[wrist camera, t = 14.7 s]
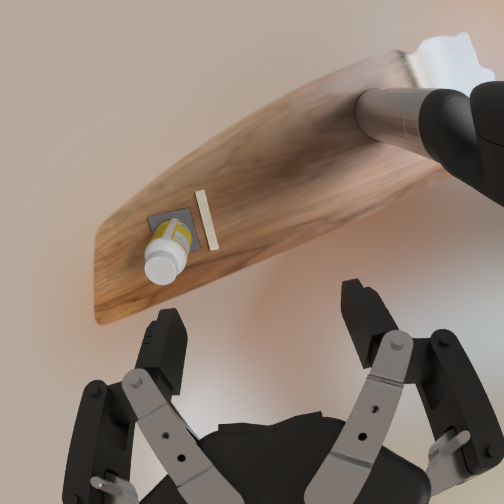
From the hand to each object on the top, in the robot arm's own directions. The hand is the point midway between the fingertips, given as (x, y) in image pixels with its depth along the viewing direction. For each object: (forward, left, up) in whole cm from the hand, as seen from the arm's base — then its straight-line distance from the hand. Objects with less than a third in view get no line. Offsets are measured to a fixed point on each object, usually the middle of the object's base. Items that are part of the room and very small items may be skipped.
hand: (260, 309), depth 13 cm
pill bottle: (+14, +9, -33) cm, 36 cm away
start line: (+7, +8, -33) cm, 35 cm away
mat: (+14, +9, -33) cm, 37 cm away
